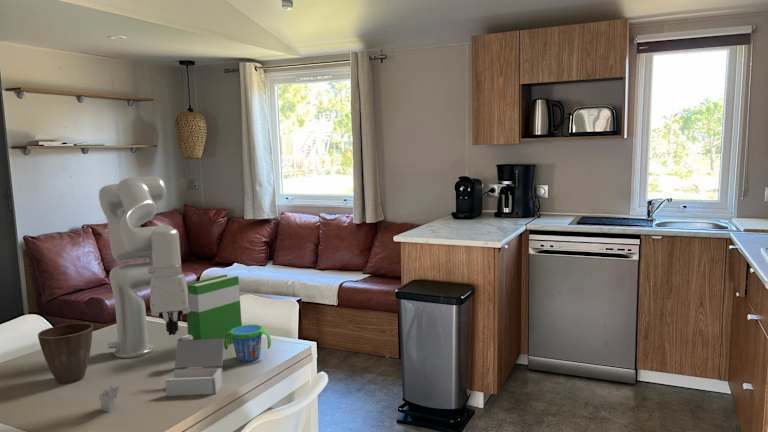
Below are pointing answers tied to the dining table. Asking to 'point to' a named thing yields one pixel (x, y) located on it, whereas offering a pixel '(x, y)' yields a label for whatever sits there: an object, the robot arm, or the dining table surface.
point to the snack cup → (247, 341)
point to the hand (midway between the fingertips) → (172, 333)
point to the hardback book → (214, 308)
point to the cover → (199, 353)
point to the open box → (194, 381)
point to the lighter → (109, 398)
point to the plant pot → (67, 350)
